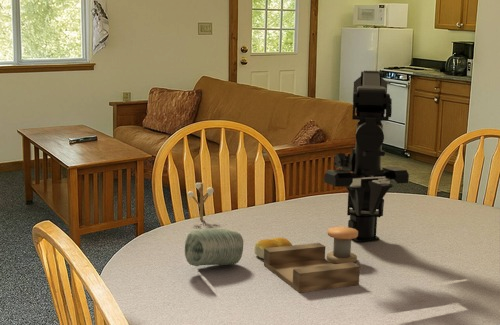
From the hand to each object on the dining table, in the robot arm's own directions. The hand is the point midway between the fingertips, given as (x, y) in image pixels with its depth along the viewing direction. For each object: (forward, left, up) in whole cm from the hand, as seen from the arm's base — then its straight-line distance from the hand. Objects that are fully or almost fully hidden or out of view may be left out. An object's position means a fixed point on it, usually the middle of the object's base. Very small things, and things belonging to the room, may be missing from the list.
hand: (364, 214), depth 149 cm
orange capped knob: (+1, -7, -12) cm, 14 cm away
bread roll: (+13, -17, -13) cm, 25 cm away
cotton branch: (+23, -48, -13) cm, 54 cm away
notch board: (+13, 0, -12) cm, 18 cm away
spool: (+34, -11, -13) cm, 37 cm away
